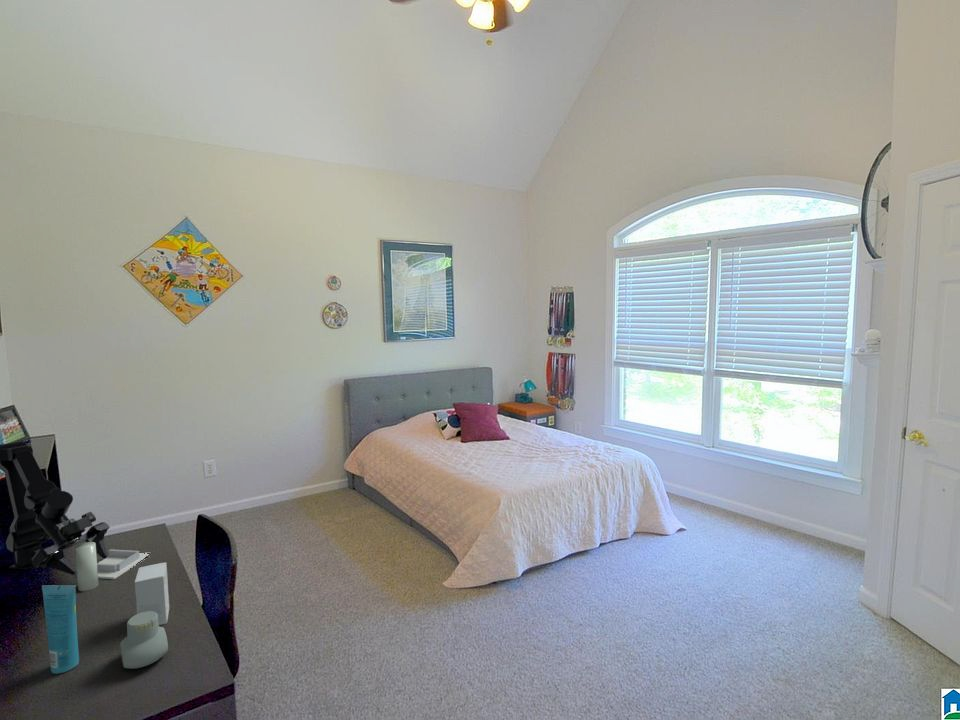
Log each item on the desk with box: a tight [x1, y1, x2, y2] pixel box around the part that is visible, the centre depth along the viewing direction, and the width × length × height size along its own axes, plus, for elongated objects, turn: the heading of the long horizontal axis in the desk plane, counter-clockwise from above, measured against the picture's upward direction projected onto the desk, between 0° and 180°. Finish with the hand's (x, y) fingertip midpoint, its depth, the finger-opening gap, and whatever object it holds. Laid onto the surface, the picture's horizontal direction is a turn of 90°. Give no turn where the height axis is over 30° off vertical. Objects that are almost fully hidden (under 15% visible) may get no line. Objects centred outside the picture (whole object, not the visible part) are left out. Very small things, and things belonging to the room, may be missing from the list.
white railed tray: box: [97, 548, 149, 580], centre depth 155 cm, size 12×15×3 cm
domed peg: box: [74, 542, 100, 592], centre depth 142 cm, size 5×5×12 cm
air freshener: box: [119, 611, 169, 670], centre depth 113 cm, size 11×8×10 cm
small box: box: [133, 562, 170, 627], centre depth 127 cm, size 8×6×13 cm
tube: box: [41, 584, 80, 675], centre depth 110 cm, size 7×5×19 cm, turn 96°
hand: (90, 565), depth 142 cm, fingers open, 9 cm apart
